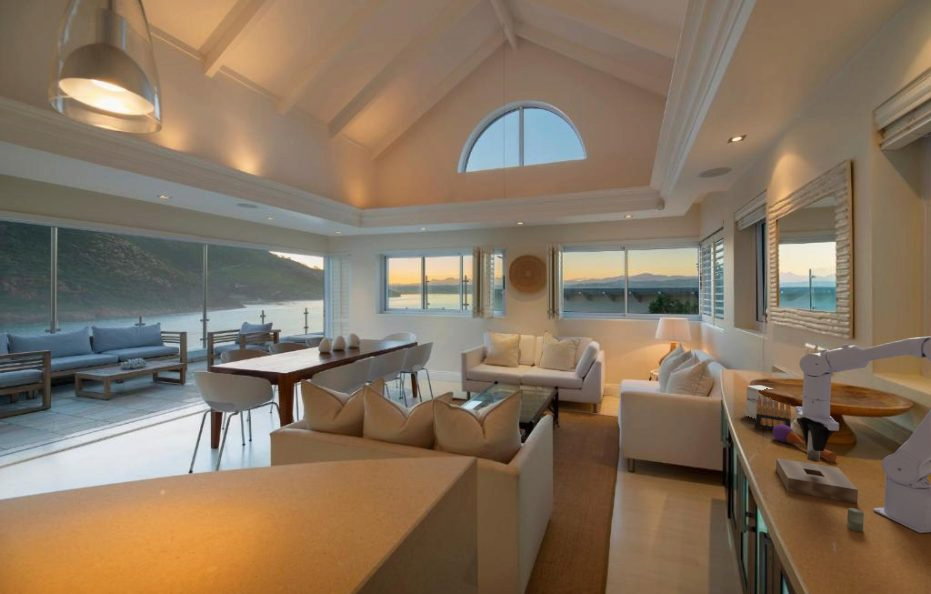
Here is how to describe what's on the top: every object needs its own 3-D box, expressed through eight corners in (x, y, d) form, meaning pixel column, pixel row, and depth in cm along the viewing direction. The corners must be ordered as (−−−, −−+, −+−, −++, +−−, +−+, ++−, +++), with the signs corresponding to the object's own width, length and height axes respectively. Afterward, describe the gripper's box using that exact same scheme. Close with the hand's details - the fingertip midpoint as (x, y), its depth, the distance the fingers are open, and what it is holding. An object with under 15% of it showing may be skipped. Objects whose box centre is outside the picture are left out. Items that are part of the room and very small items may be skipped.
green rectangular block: (866, 531, 93) (867, 513, 93) (856, 532, 92) (856, 514, 92) (853, 525, 95) (854, 507, 95) (843, 526, 95) (844, 508, 95)
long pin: (822, 461, 113) (823, 431, 112) (814, 462, 112) (815, 432, 112) (812, 457, 115) (813, 428, 115) (804, 458, 115) (805, 429, 114)
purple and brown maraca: (822, 450, 128) (767, 423, 148) (823, 468, 129) (768, 439, 149) (839, 446, 129) (782, 420, 149) (840, 464, 130) (783, 435, 150)
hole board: (837, 480, 117) (838, 467, 117) (857, 503, 105) (857, 489, 104) (775, 469, 123) (776, 458, 123) (787, 490, 111) (787, 477, 111)
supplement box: (745, 416, 174) (745, 385, 173) (760, 415, 175) (761, 384, 175) (760, 421, 167) (761, 390, 166) (776, 420, 168) (777, 389, 168)
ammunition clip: (755, 427, 161) (756, 395, 160) (755, 425, 162) (756, 394, 162) (790, 433, 154) (791, 400, 154) (790, 431, 156) (791, 399, 155)
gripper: (784, 390, 121) (782, 437, 121) (817, 404, 107) (815, 458, 107) (811, 391, 120) (809, 439, 120) (849, 406, 105) (847, 460, 106)
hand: (814, 448), depth 114 cm, fingers closed on long pin, 3 cm apart
